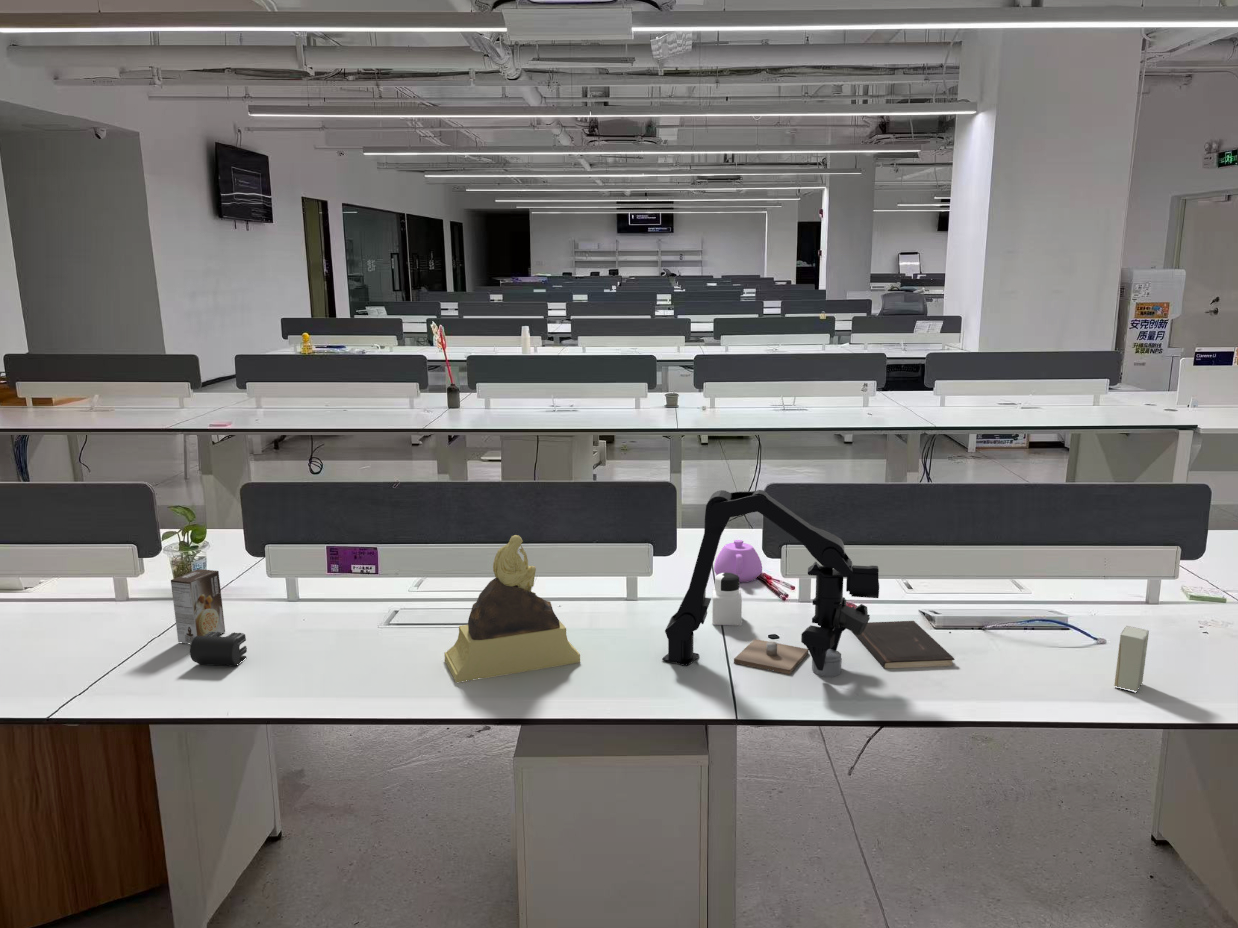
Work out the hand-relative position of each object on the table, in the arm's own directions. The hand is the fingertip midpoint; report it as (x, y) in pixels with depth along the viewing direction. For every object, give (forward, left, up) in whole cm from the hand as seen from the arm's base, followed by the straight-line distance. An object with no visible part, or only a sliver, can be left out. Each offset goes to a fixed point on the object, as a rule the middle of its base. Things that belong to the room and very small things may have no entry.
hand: (826, 662), depth 202 cm
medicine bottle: (+18, +31, -2) cm, 36 cm away
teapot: (+53, +42, -2) cm, 68 cm away
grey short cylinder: (0, 0, -2) cm, 2 cm away
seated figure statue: (-28, +64, -2) cm, 70 cm away
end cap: (-60, +122, -2) cm, 136 cm away
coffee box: (-52, +139, -2) cm, 148 cm away
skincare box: (+22, -58, -2) cm, 62 cm away
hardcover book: (+21, -11, -3) cm, 24 cm away
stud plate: (+1, +13, -2) cm, 13 cm away
